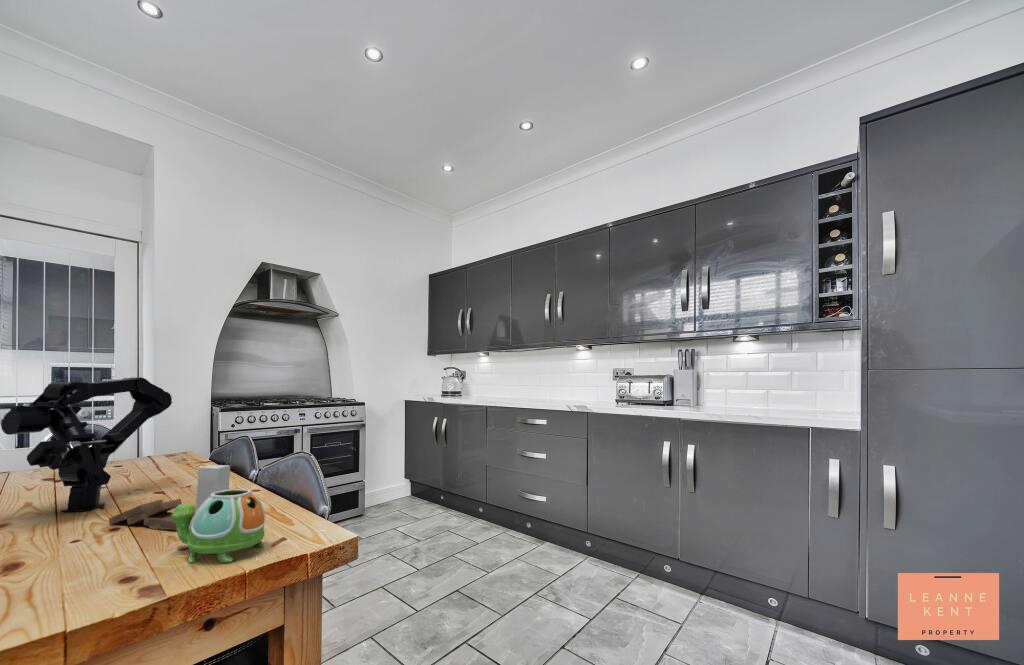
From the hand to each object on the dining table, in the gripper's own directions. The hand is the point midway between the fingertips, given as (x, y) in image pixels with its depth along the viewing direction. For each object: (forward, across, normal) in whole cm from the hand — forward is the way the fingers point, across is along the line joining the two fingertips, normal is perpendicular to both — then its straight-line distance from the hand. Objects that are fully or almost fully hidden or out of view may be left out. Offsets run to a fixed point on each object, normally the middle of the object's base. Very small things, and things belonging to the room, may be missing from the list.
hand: (96, 472), depth 110 cm
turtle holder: (+42, +13, +26) cm, 52 cm away
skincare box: (+25, -10, +9) cm, 29 cm away
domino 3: (+20, 0, +6) cm, 21 cm away
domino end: (+22, 0, +6) cm, 23 cm away
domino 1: (+14, 0, -2) cm, 14 cm away
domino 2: (+17, 0, +2) cm, 17 cm away
